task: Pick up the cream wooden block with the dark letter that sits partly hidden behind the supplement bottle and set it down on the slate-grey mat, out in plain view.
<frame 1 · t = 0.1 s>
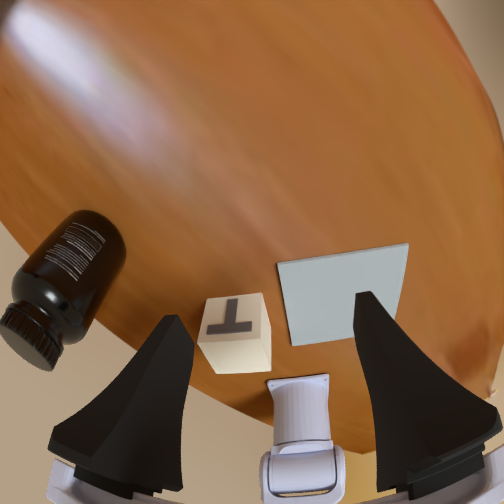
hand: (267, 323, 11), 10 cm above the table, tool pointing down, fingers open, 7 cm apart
letter block: (240, 314, 25), on the table
slate mat: (345, 301, 23), on the table
supplement bottle: (96, 240, 21), on the table
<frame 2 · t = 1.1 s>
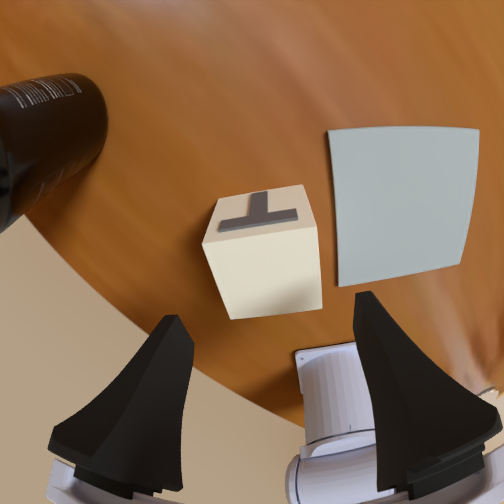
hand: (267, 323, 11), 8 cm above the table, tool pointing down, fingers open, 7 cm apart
letter block: (267, 227, 17), on the table
slate mat: (412, 208, 15), on the table
supplement bottle: (72, 122, 13), on the table
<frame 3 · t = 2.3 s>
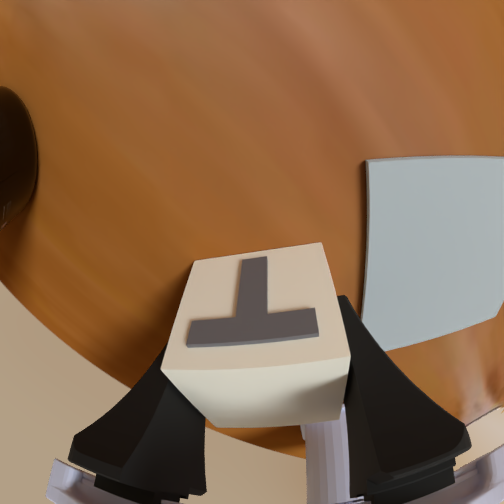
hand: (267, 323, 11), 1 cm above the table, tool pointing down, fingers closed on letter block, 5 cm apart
letter block: (267, 298, 12), on the table, touching gripper
slate mat: (461, 264, 10), on the table
supplement bottle: (3, 150, 8), on the table
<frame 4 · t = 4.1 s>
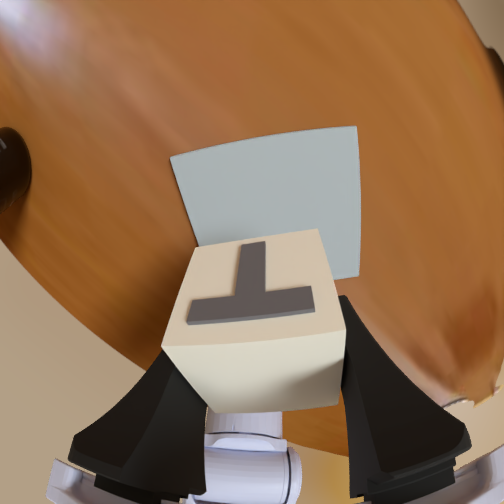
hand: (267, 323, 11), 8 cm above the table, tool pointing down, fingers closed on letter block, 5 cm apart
letter block: (265, 285, 12), point 6 cm above the table, touching gripper
slate mat: (277, 220, 17), on the table
supplement bottle: (12, 161, 15), on the table
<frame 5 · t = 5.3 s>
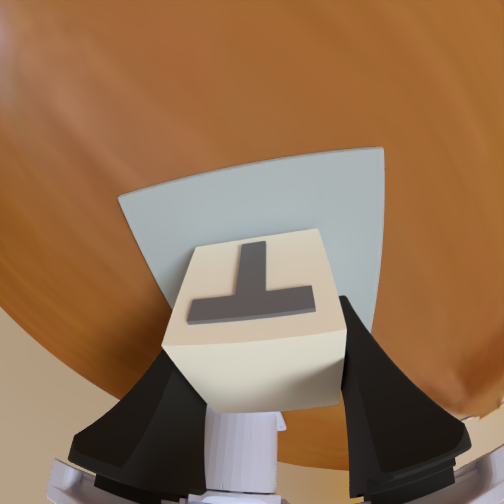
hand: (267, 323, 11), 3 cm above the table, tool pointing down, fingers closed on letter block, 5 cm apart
letter block: (266, 284, 12), point 1 cm above the table, touching gripper
slate mat: (267, 276, 13), on the table
when the fingers open (3 cm above the table, at t = 6.1 s): letter block stays where it is, resting on slate mat.
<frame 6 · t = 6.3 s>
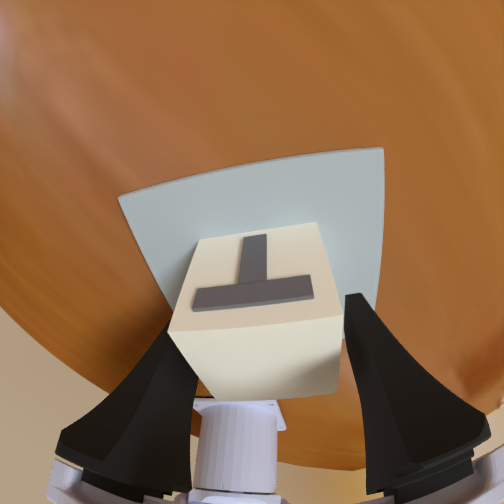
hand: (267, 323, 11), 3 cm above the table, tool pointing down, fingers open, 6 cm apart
letter block: (266, 276, 13), resting on slate mat
slate mat: (267, 276, 13), on the table
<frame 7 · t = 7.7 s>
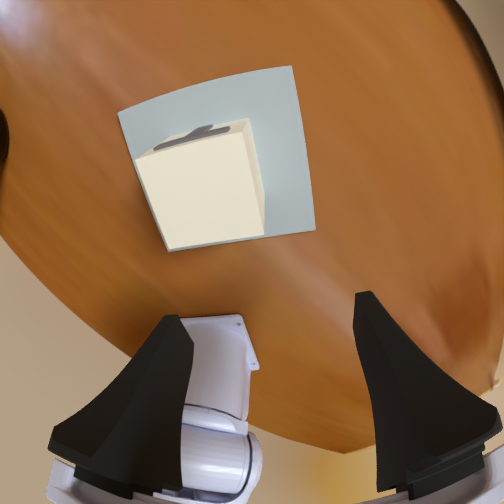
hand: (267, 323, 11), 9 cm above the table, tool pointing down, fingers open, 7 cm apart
letter block: (217, 164, 16), resting on slate mat
slate mat: (218, 166, 16), on the table
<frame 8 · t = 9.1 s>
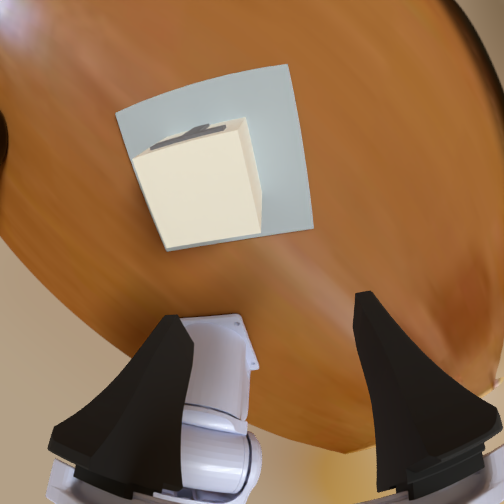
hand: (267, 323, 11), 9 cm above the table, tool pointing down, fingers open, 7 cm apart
letter block: (214, 163, 16), resting on slate mat
slate mat: (216, 165, 16), on the table
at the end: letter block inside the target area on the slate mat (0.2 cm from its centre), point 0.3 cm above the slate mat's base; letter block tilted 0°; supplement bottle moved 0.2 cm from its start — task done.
